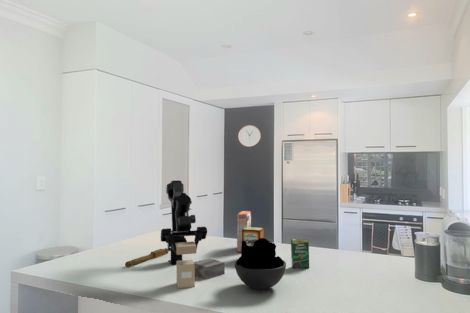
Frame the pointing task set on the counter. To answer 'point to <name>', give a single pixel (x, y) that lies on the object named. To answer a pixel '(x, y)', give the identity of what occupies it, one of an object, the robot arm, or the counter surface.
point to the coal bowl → (260, 265)
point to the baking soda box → (252, 235)
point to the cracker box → (242, 226)
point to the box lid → (185, 248)
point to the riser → (209, 268)
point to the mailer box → (185, 274)
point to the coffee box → (300, 253)
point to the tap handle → (147, 257)
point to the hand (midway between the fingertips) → (185, 251)
